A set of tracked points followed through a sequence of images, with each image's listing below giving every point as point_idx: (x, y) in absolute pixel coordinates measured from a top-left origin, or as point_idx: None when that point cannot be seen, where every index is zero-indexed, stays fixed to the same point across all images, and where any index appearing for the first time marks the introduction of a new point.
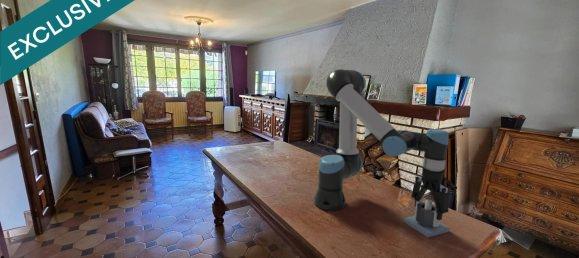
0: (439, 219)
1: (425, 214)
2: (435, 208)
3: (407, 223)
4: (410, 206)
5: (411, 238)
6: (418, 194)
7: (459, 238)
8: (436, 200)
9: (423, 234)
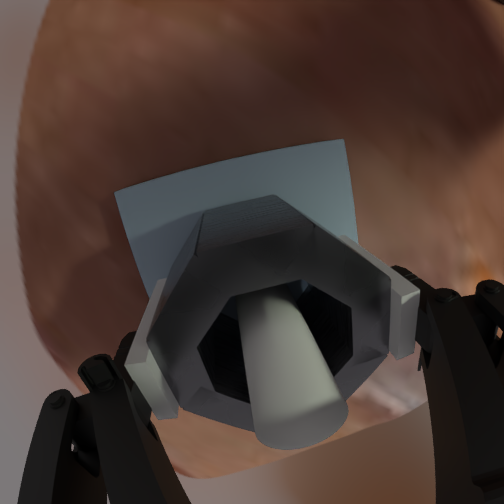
0: (123, 341)
1: (188, 253)
2: (248, 407)
3: (298, 145)
4: None
5: (132, 77)
6: (473, 358)
7: None
8: (114, 498)
9: (152, 179)
